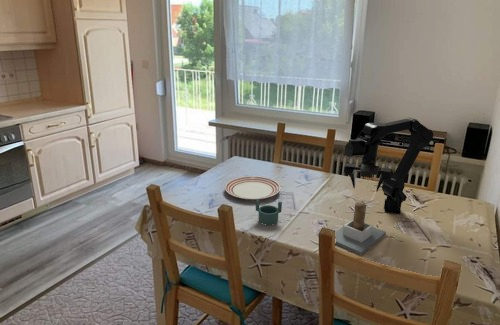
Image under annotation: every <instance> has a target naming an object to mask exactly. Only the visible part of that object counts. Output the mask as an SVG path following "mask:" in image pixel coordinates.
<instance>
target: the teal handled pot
mask: <svg viewBox="0 0 500 325" xmlns="http://www.w3.org/2000/svg"><path fill="white" fill-rule="evenodd" d="M277 202H278V203H277V206H274V205H270V204H268V205H262V206H260V199H258V200H255V211H256V212H257V213H258V218H257V219H258V220H259V221H258V223H259V222H260V224H261V223H263V224H266V225H265V226H273V225H272V224H275V225H276V223H277V222H279V214H280V213H282V209H283V206H282V204H283V202H282V201H277ZM263 224H262V225H263ZM277 224H278V223H277Z"/></svg>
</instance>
